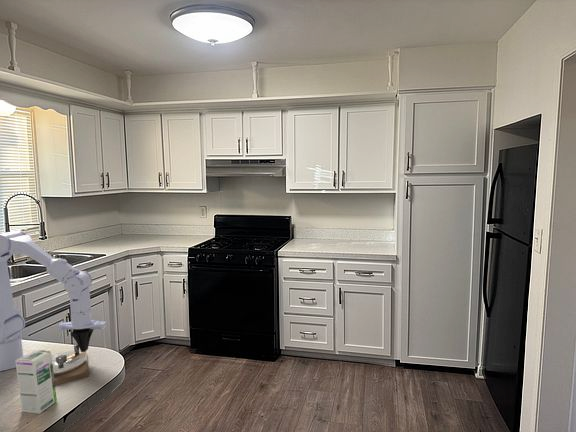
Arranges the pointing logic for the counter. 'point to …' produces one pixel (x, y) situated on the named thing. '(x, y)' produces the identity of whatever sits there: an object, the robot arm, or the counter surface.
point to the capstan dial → (67, 361)
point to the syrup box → (36, 381)
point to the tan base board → (73, 373)
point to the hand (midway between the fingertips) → (84, 350)
